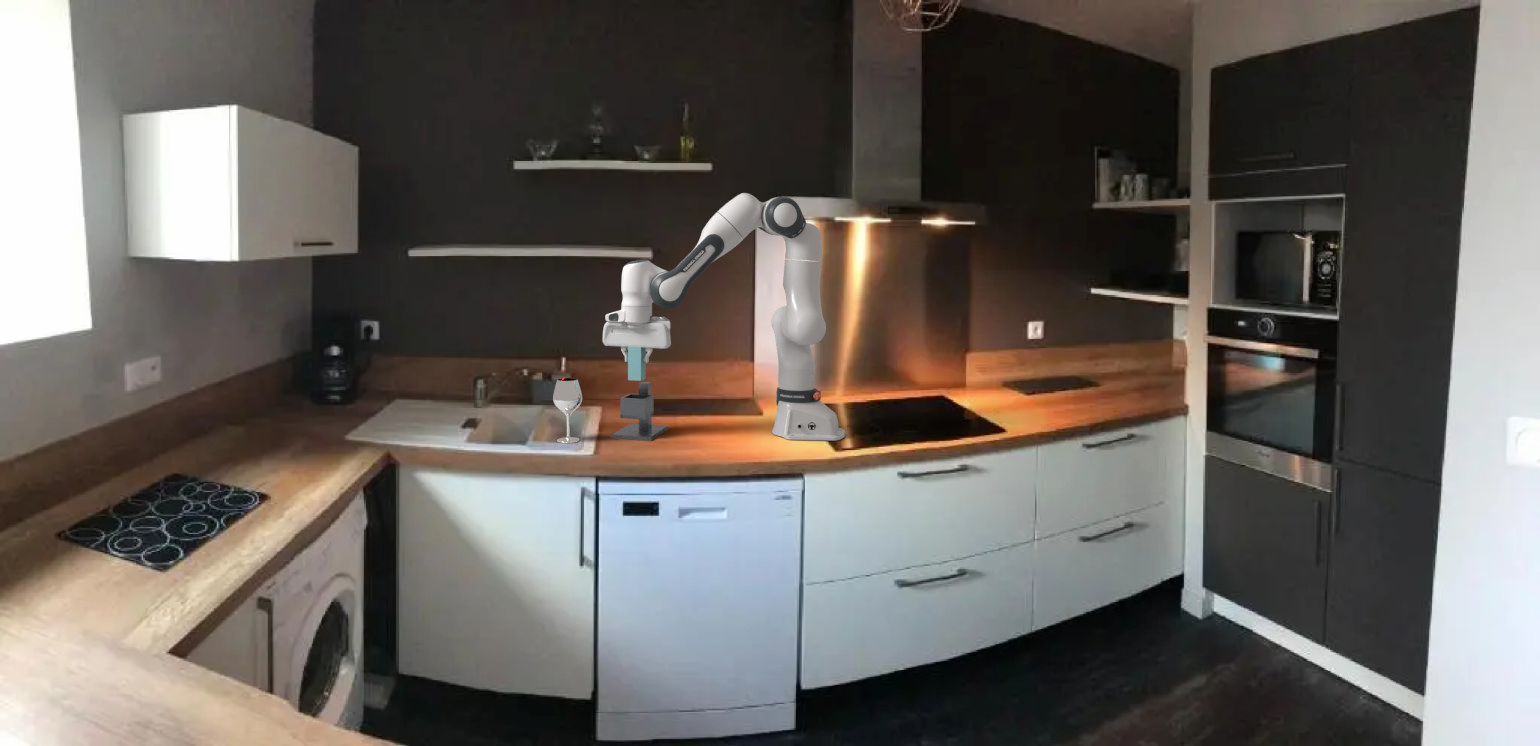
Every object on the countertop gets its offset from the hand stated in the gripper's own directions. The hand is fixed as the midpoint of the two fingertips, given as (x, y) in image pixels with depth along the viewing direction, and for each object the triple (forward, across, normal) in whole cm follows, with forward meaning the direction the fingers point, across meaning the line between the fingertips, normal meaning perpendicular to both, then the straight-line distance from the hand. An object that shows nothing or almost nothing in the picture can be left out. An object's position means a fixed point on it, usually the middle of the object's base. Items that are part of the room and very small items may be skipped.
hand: (636, 362), depth 254 cm
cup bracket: (+22, 0, -3) cm, 22 cm away
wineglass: (+22, +17, +11) cm, 30 cm away
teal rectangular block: (+5, 0, 0) cm, 5 cm away
